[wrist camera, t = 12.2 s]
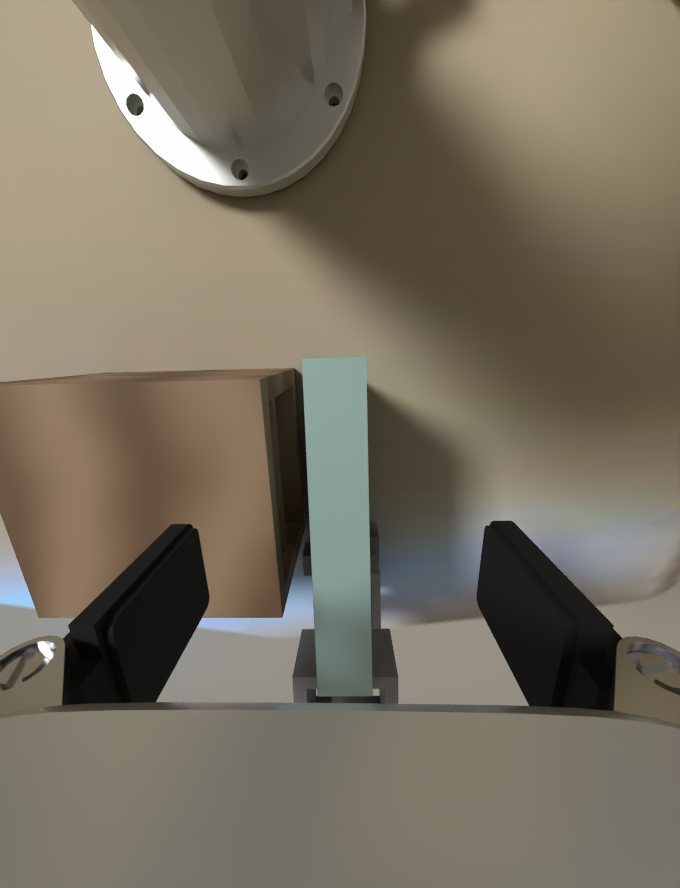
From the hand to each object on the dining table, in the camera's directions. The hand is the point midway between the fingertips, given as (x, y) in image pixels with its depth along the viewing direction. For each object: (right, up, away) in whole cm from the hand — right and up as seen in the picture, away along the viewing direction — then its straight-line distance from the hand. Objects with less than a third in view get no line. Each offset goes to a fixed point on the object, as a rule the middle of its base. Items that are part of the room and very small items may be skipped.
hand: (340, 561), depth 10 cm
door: (0, 0, +11) cm, 11 cm away
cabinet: (-6, +1, +12) cm, 13 cm away
